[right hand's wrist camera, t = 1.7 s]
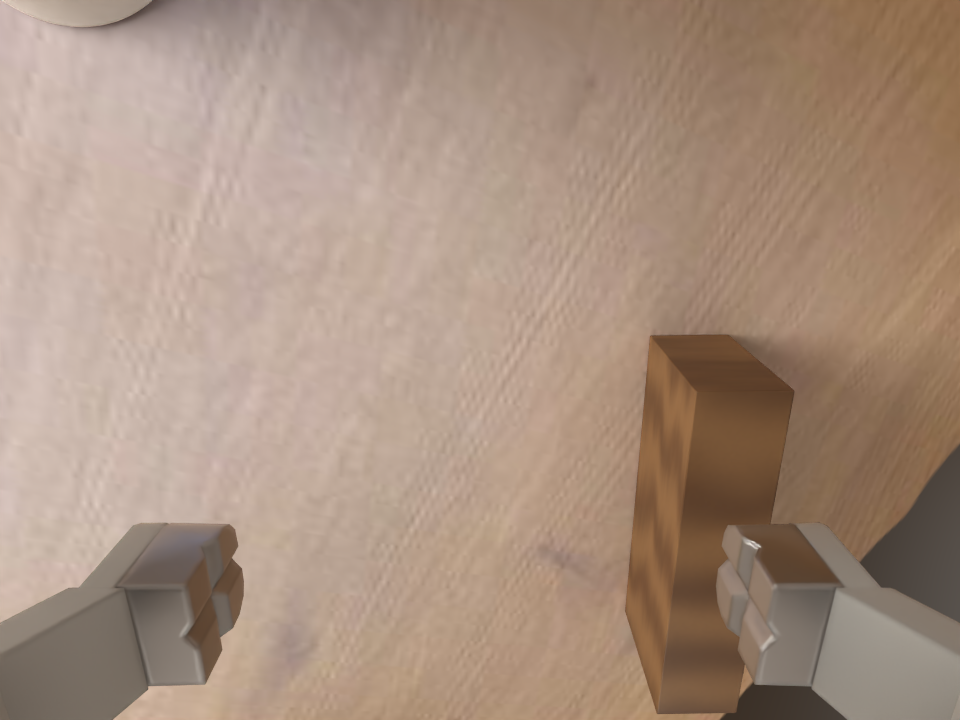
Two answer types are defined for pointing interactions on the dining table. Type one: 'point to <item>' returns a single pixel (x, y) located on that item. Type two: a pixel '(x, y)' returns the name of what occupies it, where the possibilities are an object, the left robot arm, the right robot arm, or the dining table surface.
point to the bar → (698, 510)
